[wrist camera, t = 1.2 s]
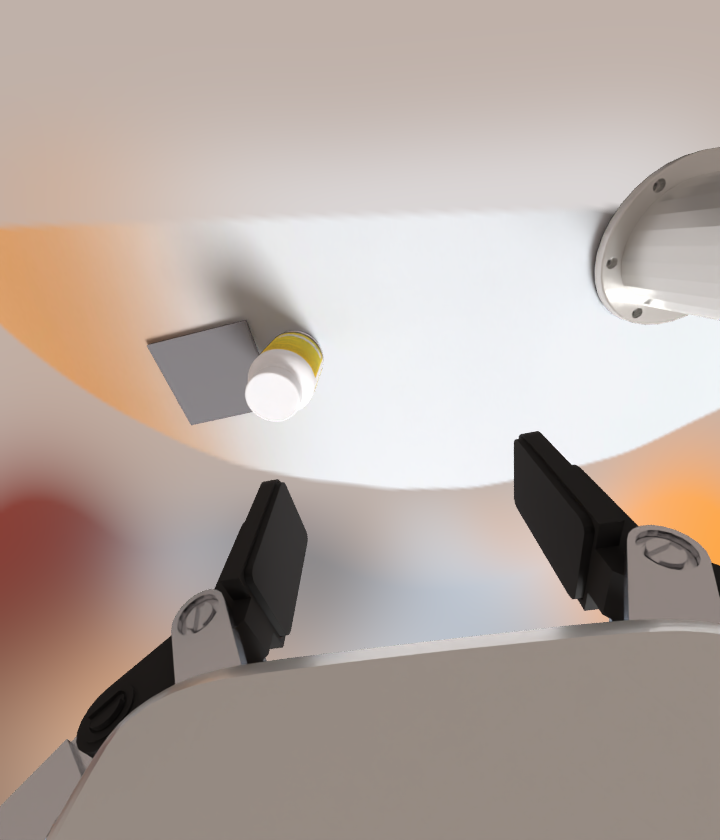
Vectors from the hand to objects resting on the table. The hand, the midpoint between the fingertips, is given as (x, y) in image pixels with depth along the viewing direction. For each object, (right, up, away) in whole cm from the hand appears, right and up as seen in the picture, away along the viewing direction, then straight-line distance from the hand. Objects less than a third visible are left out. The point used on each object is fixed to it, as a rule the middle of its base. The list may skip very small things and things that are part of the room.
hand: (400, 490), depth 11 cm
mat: (-16, +7, +21) cm, 27 cm away
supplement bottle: (-8, +9, +20) cm, 24 cm away
